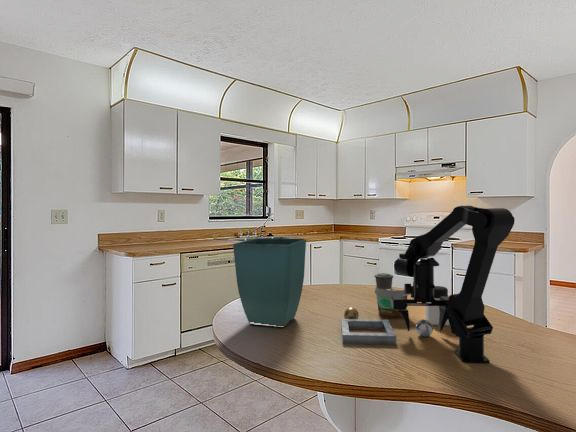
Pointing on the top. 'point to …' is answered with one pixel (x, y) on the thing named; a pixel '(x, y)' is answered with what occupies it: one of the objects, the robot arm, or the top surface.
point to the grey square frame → (367, 338)
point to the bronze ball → (351, 313)
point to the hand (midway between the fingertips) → (424, 331)
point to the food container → (388, 302)
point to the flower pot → (270, 278)
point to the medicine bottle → (433, 311)
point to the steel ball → (424, 328)
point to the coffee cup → (384, 281)
